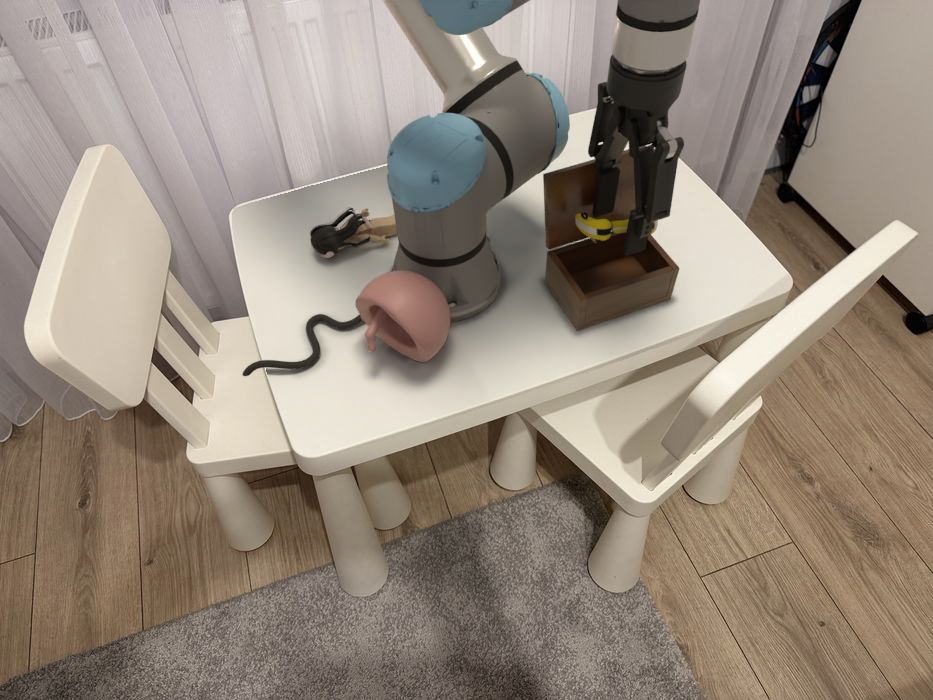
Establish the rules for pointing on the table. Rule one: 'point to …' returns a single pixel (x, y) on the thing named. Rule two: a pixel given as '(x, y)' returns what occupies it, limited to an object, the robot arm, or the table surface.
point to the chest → (608, 279)
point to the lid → (582, 199)
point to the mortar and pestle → (405, 314)
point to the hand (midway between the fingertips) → (617, 231)
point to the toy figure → (351, 232)
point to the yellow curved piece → (602, 227)
